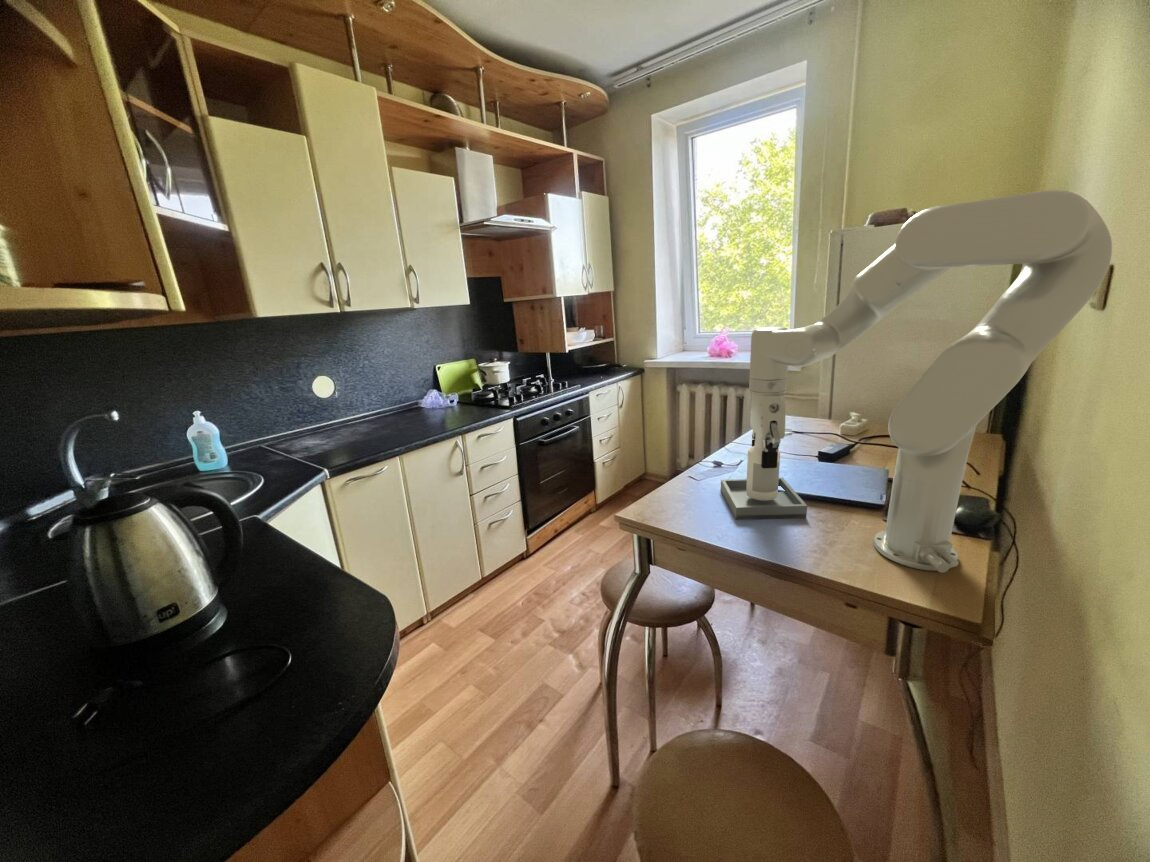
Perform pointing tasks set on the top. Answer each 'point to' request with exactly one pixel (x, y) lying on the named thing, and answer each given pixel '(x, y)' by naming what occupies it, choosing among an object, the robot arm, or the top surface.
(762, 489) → the spray bottle
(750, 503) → the tray
